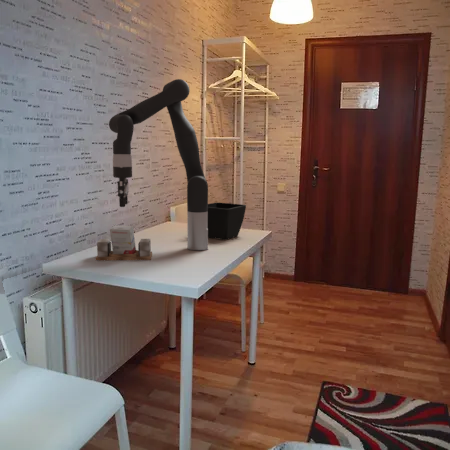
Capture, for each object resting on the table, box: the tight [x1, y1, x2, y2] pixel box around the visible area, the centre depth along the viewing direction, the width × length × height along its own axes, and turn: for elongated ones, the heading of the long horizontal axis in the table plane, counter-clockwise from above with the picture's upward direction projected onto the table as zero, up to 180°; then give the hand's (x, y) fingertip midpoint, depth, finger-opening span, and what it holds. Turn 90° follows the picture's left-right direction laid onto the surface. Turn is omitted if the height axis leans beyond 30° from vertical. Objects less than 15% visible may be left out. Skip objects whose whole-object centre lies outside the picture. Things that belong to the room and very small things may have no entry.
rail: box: [95, 238, 153, 262], centre depth 185 cm, size 22×10×7 cm, turn 96°
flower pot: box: [208, 201, 247, 241], centre depth 232 cm, size 19×19×17 cm
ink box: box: [109, 224, 137, 254], centre depth 183 cm, size 9×5×12 cm, turn 80°
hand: (123, 205), depth 182 cm, fingers open, 8 cm apart
